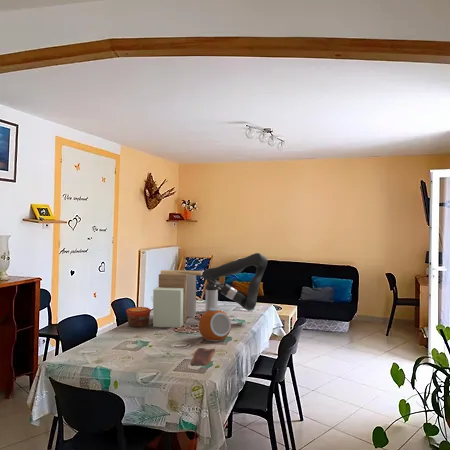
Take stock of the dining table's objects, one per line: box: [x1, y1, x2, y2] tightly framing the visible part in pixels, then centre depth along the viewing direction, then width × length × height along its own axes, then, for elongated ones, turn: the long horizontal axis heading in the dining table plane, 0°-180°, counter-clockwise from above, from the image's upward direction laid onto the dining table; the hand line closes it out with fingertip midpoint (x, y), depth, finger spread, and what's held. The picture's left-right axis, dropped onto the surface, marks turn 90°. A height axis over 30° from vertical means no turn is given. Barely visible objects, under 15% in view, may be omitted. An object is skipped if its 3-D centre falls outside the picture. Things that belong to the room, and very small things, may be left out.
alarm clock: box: [198, 308, 232, 342], centre depth 251 cm, size 19×18×17 cm
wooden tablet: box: [190, 347, 216, 367], centre depth 217 cm, size 26×2×10 cm
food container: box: [125, 306, 152, 329], centre depth 279 cm, size 16×16×11 cm
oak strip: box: [160, 269, 203, 276], centre depth 291 cm, size 4×28×2 cm, turn 84°
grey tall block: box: [186, 275, 197, 318], centre depth 307 cm, size 14×6×30 cm, turn 84°
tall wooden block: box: [158, 273, 189, 324], centre depth 292 cm, size 9×20×32 cm, turn 84°
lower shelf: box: [152, 286, 184, 328], centre depth 280 cm, size 9×18×24 cm, turn 84°
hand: (208, 279), depth 289 cm, fingers open, 8 cm apart
